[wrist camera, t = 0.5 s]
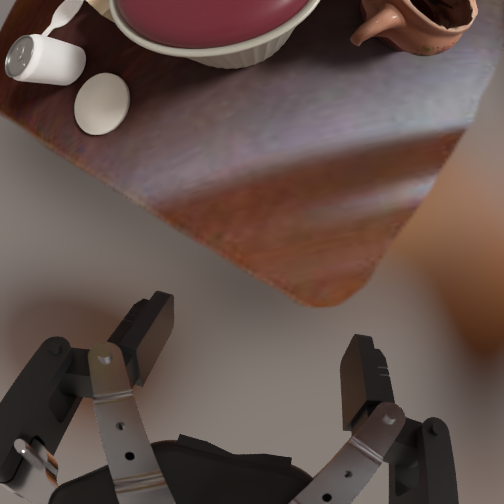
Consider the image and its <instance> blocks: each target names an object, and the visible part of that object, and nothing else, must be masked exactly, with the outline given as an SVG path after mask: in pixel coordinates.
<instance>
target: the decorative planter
mask: <svg viewBox="0 0 504 504" xmlns="http://www.w3.org/2000/svg"><path fill="white" fill-rule="evenodd" d="M360 12H361V15H362V18H363V20H364V21H365V23H363V24H362V25H361V26H360V27H359V28H358V29H357V30H356V31H355V33H354V34H353V35H352V36H351V38H350V41H351V42H352V43H353V44H354V45H356V46H360V45H361V43H362V42H363V41H365V40H367V39H368V38H370V37H377V38H378V39H379V40H380V41H382V42H383V43H384V44H386V45H387V46H389V47H390V48H392V49H394V50H397V51H405V52H409V53H411V54H413V55H417V56H431V55H436V54H439V53H442V52H444V51H446V50H448V49H449V48H451V47H452V46H453V45H454V44H455V43H456V42H457V41H458V40H459V39H460V37H461V35H462V33H463V32H465V31H466V30H468V29H469V27H470V26H471V24H472V22H473V21H474V19H475V17H476V16H477V13H478V9H477V6H476V2H475V0H361V4H360Z"/></svg>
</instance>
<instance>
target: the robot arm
mask: <svg viewBox="0 0 504 504" xmlns="http://www.w3.org/2000/svg"><path fill="white" fill-rule="evenodd" d="M173 325H174V296H173V295H172V294H168V293H164V292H161V291H156V292H155V293H154V295H153V296H152V297H151V299H150V300H147V299H142V300H141V301H139V302H137V303H136V304H134V305H133V307H132V308H131V310H130V311H129V313H128V314H127V315H126V316H125V317H124V320H122V322H121V323H120V324H119V326H118V327H117V328H116V330H115V331H114V332H113V334H112V335H111V337H110V338H109V339H108V341H107V342H102V343H98V344H96V345H95V346H93V347H92V348H91V349H79V348H71V346H70V344H69V342H68V341H67V340H66V339H65V338H63V337H51V338H49V339H47V340H45V341H44V342H43V343H42V345H41V346H40V348H39V349H38V350H37V351H36V352H35V354H34V355H33V357H32V358H31V359H30V361H29V362H28V363H27V365H26V366H25V368H24V369H23V370H22V372H21V373H20V375H19V376H18V377H17V379H16V380H15V382H14V383H13V385H12V386H11V388H10V389H9V391H8V392H7V393H6V395H5V396H4V398H3V400H2V401H1V403H0V485H1V486H3V487H4V488H6V489H7V490H9V491H11V492H13V493H15V494H17V495H18V496H20V497H22V498H25V499H27V500H28V501H30V502H31V503H33V504H351V503H352V502H353V501H354V499H355V498H356V497H357V496H358V494H359V493H360V492H361V490H362V489H363V488H364V487H365V486H366V484H367V483H368V482H369V481H370V479H371V478H372V477H373V475H374V474H375V473H376V471H377V470H378V468H379V467H380V466H381V464H382V462H383V461H384V462H387V463H389V504H459V503H458V491H457V481H456V473H455V466H454V458H453V452H452V446H451V440H450V435H449V430H448V427H447V425H446V424H445V423H444V422H443V421H442V420H441V419H439V418H435V417H431V418H428V419H426V420H425V421H424V422H423V423H421V422H418V421H415V420H412V419H409V418H407V417H406V416H405V413H404V411H403V410H402V408H401V407H399V406H398V405H397V404H395V401H394V396H393V391H392V386H391V381H390V377H389V371H388V369H387V368H388V367H387V362H386V358H385V356H384V355H383V354H382V352H381V351H380V350H379V349H374V344H373V340H372V337H370V336H365V335H359V334H355V335H354V336H353V338H352V340H351V342H350V344H349V346H348V348H347V350H346V352H345V354H344V356H343V358H342V361H341V365H340V378H341V395H342V417H343V430H345V431H351V432H352V437H351V438H350V439H349V440H348V441H347V442H346V444H345V445H344V446H343V447H342V448H341V449H340V450H339V451H338V453H337V454H336V455H335V456H334V457H333V458H332V459H331V460H330V461H329V462H328V463H327V464H326V465H325V467H323V468H322V469H321V470H320V471H319V472H318V473H317V474H316V476H314V477H313V478H312V477H311V476H310V475H309V474H308V473H306V472H305V471H303V470H302V469H300V468H298V467H296V466H294V465H291V460H292V458H290V457H283V456H276V455H269V454H246V455H245V454H242V455H241V454H240V455H237V454H232V453H229V452H227V451H225V450H223V449H221V448H219V447H217V446H215V445H213V444H211V443H208V442H207V441H203V440H199V439H195V438H192V437H188V436H185V435H181V434H180V435H179V438H178V440H164V441H158V442H154V443H151V444H150V442H149V439H148V437H147V434H146V431H145V428H144V425H143V423H142V419H141V417H140V413H139V410H138V407H137V404H136V401H135V398H134V394H133V392H132V389H133V387H134V385H135V384H136V385H138V386H141V387H143V386H144V383H145V382H146V380H147V377H148V376H149V374H150V372H151V370H152V368H153V366H154V364H155V363H156V360H157V359H158V357H159V355H160V353H161V351H162V349H163V347H164V345H165V344H166V342H167V340H168V338H169V336H170V334H171V332H172V329H173ZM83 397H86V398H93V405H94V410H95V415H96V420H97V424H98V428H99V433H100V436H101V441H102V445H103V448H104V452H105V456H106V459H107V463H108V465H106V466H104V467H101V468H99V469H97V470H94V471H92V472H90V473H87V474H85V475H83V476H81V477H78V478H76V479H73V480H71V481H68V482H66V483H63V484H62V485H60V486H58V484H57V474H58V463H57V461H56V459H55V458H54V454H55V452H56V449H57V447H58V445H59V443H60V441H61V439H62V437H63V435H64V433H65V431H66V429H67V427H68V425H69V423H70V421H71V420H72V417H73V416H74V414H75V412H76V410H77V408H78V406H79V404H80V402H81V401H82V399H83Z"/></svg>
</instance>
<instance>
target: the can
mask: <svg viewBox="0 0 504 504" xmlns="http://www.w3.org/2000/svg"><path fill="white" fill-rule="evenodd" d="M85 64H86V55H85V52H84V50H83V49H82V48H80V47H78V46H75V45H72V44H69V43H66V42H63V41H60V40H56V39H53V38H50V37H46V36H42V35H38V34H33V35H24V36H22V37H20V38H19V39H17V40H16V41H15V42H14V44H13V45H12V46H11V48H10V50H9V52H8V54H7V57H6V62H5V71H6V73H7V75H8V76H9V77H13V78H14V79H15V80H17V81H24V82H35V83H45V84H55V85H69V84H71V83H73V82H74V81H76V80H77V79H78V78H79V76H80V75H81V74H82V72H83V70H84V67H85Z"/></svg>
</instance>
